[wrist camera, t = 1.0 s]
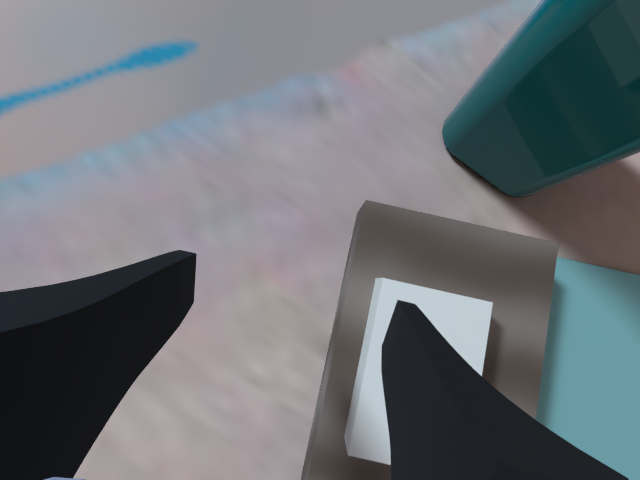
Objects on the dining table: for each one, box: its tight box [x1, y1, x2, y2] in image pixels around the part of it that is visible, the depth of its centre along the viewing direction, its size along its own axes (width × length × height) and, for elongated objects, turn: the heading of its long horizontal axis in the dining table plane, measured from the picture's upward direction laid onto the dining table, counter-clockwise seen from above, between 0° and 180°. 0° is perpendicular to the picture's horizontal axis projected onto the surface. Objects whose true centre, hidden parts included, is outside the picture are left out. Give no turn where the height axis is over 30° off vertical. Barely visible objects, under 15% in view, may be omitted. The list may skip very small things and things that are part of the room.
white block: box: [344, 278, 493, 465], centre depth 18 cm, size 9×6×2 cm, turn 167°
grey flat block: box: [301, 200, 559, 480], centre depth 21 cm, size 18×12×4 cm, turn 167°
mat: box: [536, 257, 640, 480], centre depth 23 cm, size 18×12×1 cm, turn 167°
